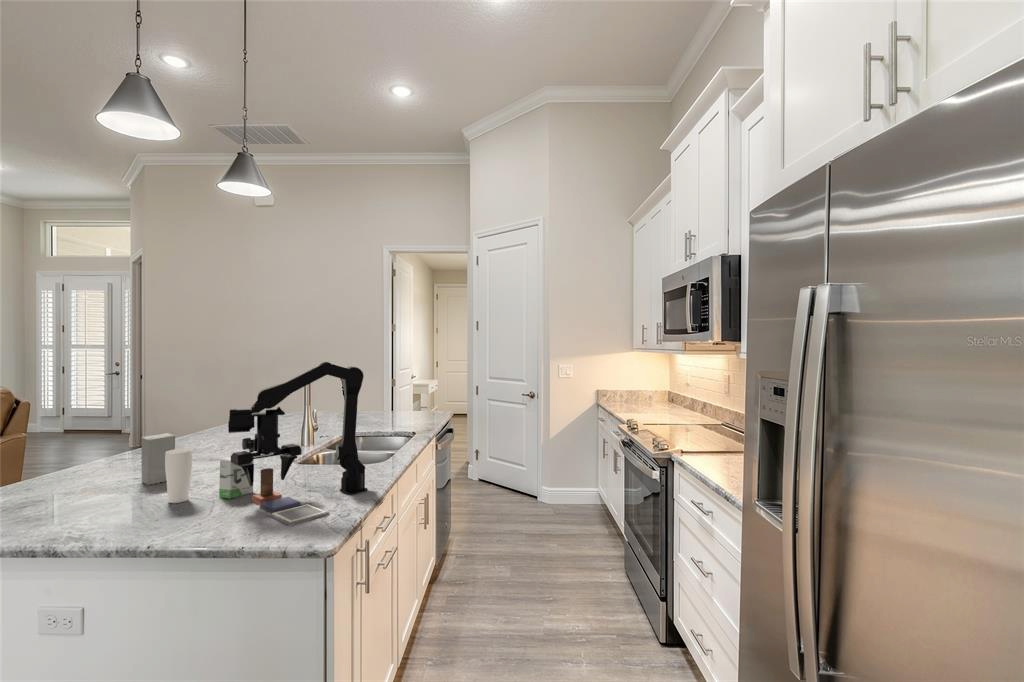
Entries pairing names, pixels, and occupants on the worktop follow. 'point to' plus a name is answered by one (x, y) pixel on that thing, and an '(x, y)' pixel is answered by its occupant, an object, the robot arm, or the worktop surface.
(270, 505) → the ink pad
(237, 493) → the ink box
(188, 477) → the drinking glass
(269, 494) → the stamp
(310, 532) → the worktop surface
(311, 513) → the marked board
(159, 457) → the skincare box
